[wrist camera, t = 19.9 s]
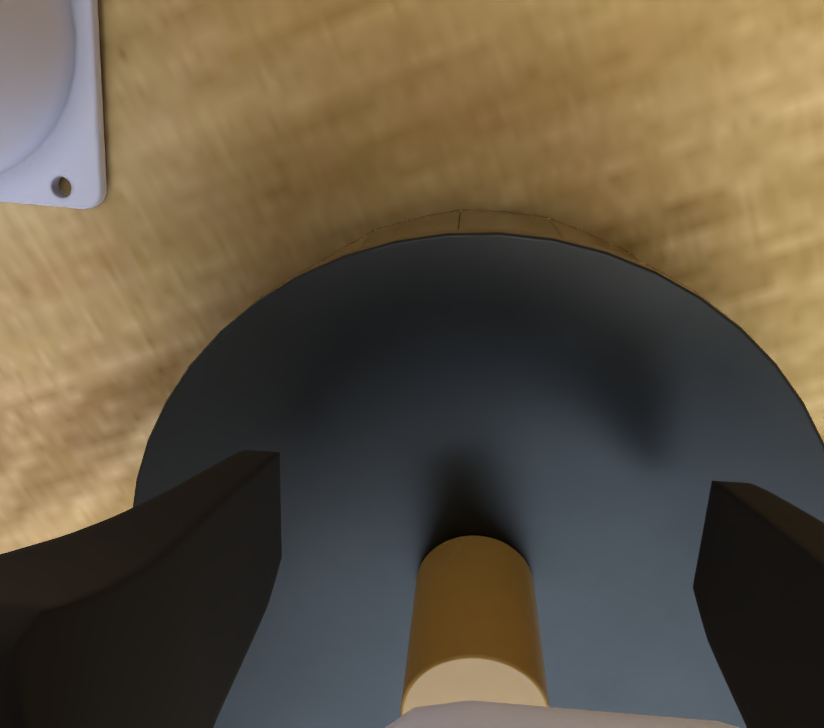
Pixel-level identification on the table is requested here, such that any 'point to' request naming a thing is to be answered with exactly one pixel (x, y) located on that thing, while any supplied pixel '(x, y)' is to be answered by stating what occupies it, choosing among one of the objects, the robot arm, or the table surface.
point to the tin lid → (485, 477)
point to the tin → (480, 221)
